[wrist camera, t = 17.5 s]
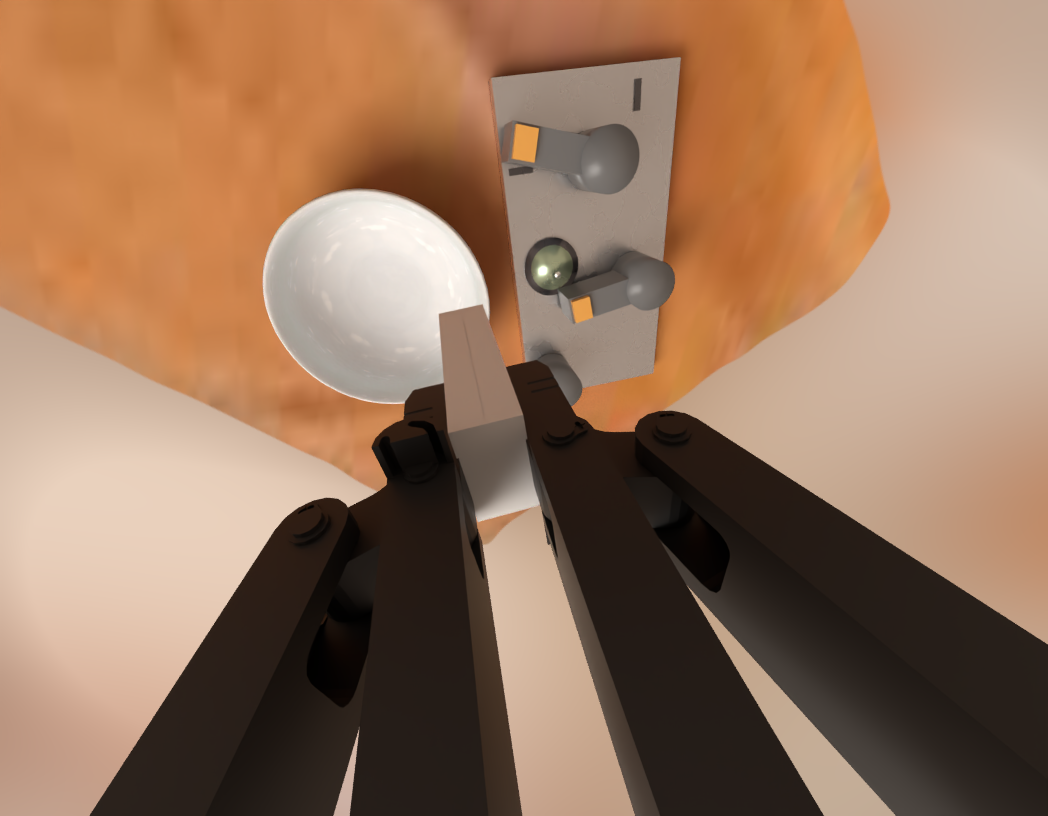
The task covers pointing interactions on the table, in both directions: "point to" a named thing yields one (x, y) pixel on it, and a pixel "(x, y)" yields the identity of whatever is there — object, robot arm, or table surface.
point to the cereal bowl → (368, 291)
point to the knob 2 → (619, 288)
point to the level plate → (587, 210)
